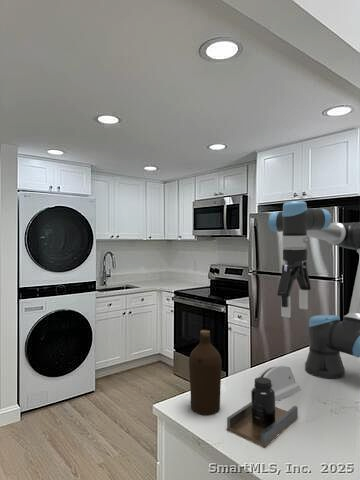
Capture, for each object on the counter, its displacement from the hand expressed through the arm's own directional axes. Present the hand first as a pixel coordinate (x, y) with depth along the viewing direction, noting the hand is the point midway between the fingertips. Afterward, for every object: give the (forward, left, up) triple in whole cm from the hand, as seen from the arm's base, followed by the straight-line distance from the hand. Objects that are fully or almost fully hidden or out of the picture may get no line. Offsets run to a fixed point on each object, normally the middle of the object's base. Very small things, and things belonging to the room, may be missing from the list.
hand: (295, 312), depth 111 cm
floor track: (+16, +7, -30) cm, 35 cm away
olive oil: (+29, -7, -31) cm, 43 cm away
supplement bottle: (+16, +7, -30) cm, 35 cm away
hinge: (0, -9, -31) cm, 32 cm away
